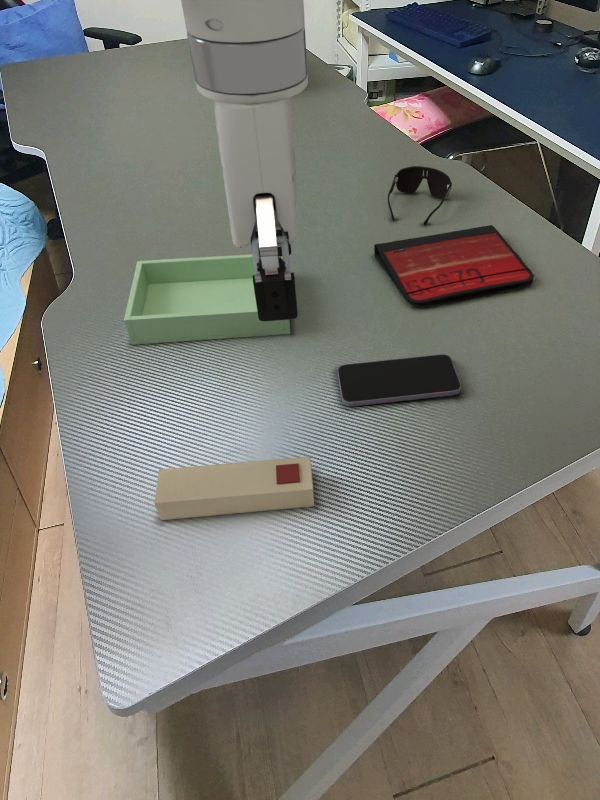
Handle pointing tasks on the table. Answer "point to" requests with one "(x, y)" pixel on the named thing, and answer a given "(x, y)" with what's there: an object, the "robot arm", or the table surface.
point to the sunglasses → (413, 177)
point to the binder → (453, 266)
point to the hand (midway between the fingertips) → (276, 284)
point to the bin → (195, 301)
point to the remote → (234, 488)
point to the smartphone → (398, 380)
